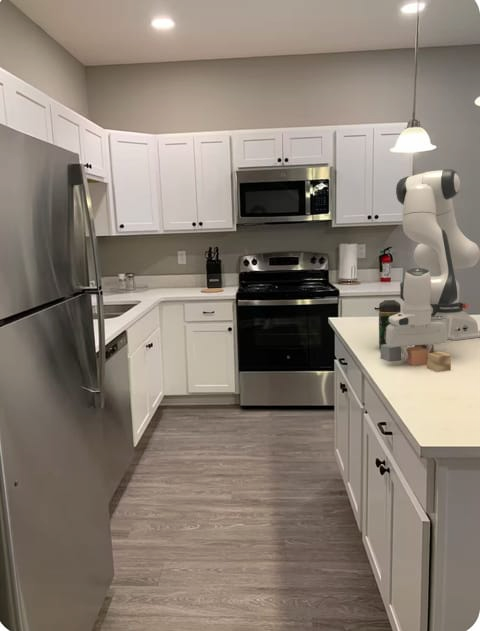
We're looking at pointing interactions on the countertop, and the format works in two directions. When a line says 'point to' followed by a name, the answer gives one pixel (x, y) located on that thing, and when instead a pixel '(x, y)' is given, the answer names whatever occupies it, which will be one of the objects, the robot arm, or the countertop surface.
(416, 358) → the terracotta cube
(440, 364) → the oak cube
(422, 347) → the walnut cube
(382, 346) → the grey cube
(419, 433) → the countertop surface
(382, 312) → the coffee jar
